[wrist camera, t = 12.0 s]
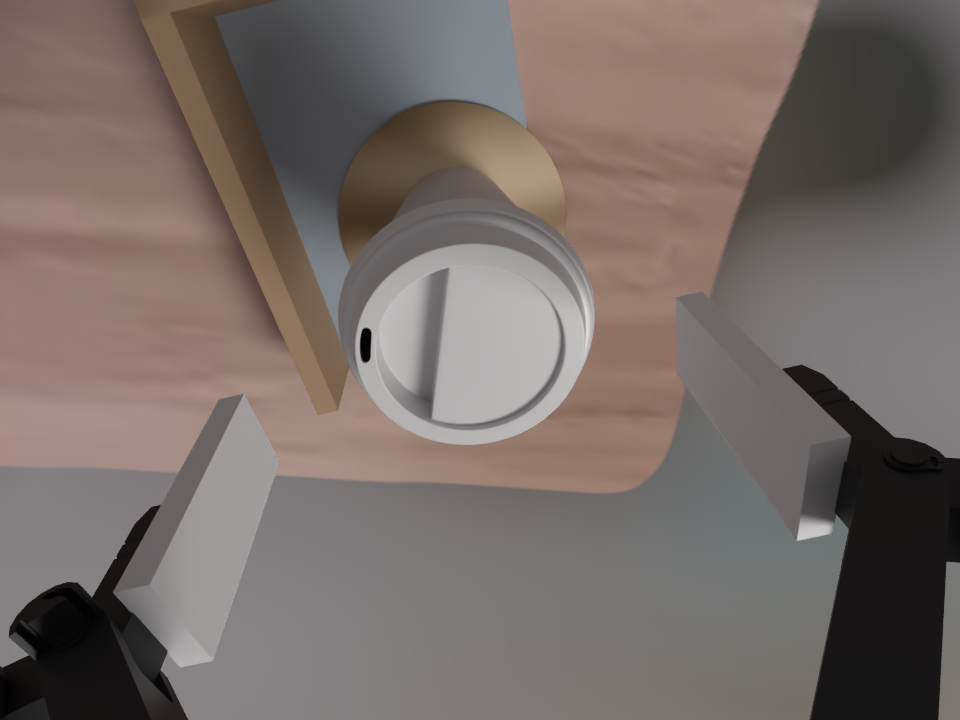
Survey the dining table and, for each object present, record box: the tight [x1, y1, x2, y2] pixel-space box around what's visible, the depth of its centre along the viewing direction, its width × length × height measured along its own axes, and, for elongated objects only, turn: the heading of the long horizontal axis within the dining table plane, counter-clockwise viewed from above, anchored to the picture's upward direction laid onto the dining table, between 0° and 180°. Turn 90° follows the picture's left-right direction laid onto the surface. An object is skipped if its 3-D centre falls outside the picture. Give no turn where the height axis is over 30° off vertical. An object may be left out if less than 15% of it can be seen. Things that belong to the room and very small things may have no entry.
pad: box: [339, 102, 566, 265], centre depth 32 cm, size 13×13×1 cm
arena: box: [132, 0, 527, 415], centre depth 29 cm, size 21×15×6 cm
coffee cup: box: [338, 167, 595, 445], centre depth 25 cm, size 10×10×15 cm
